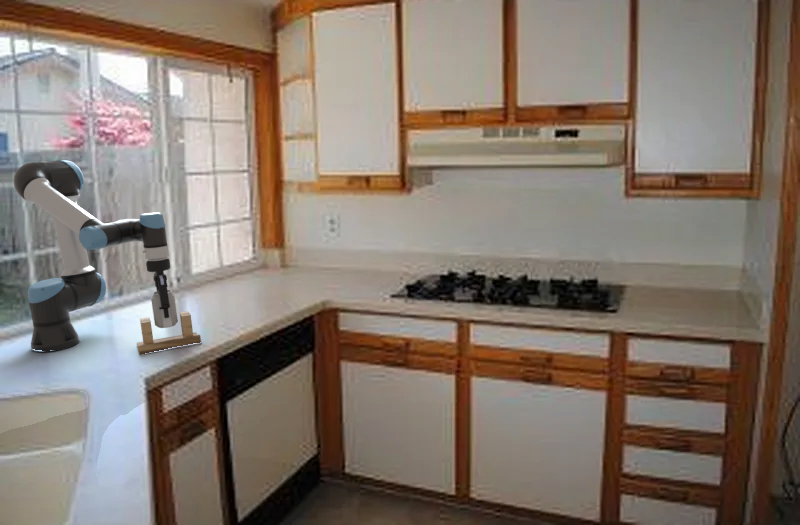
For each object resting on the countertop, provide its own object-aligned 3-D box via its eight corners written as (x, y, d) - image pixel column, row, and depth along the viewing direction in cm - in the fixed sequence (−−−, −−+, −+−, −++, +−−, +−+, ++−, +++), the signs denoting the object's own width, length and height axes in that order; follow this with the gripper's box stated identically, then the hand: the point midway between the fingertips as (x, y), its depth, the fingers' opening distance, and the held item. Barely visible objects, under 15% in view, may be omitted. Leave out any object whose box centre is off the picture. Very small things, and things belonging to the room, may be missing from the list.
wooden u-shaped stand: (137, 345, 225) (133, 317, 223) (196, 334, 233) (192, 308, 231) (139, 355, 214) (135, 326, 212) (201, 343, 222) (198, 315, 220)
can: (169, 321, 227) (165, 288, 225) (182, 323, 223) (178, 290, 220) (150, 327, 221) (145, 293, 219) (163, 329, 217) (158, 295, 215)
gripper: (143, 256, 225) (152, 319, 229) (148, 265, 207) (157, 333, 211) (165, 253, 228) (174, 315, 233) (172, 261, 210) (181, 329, 214)
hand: (166, 323), depth 222 cm, fingers closed on can, 7 cm apart
